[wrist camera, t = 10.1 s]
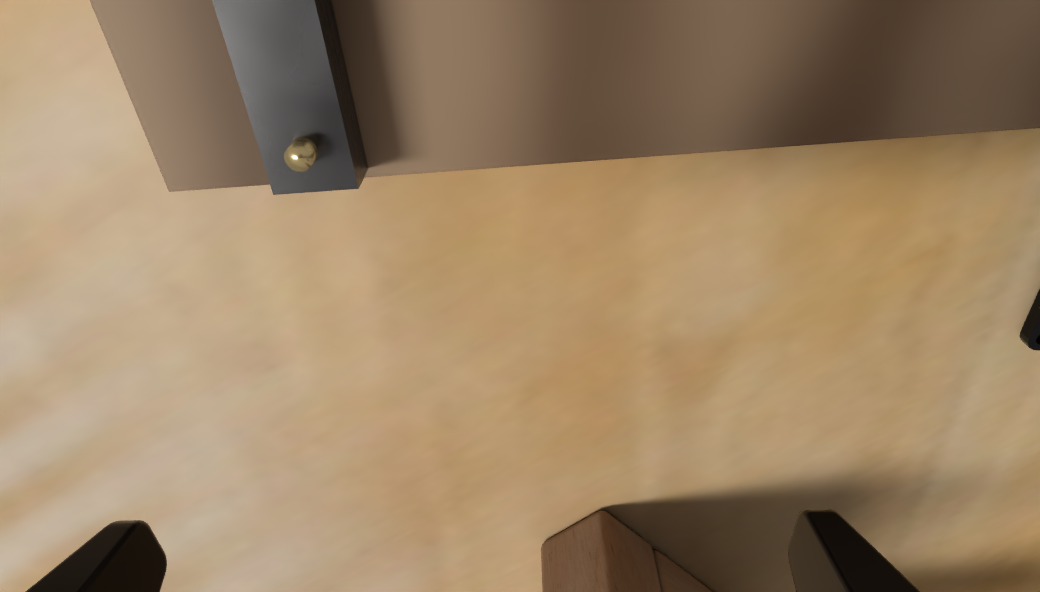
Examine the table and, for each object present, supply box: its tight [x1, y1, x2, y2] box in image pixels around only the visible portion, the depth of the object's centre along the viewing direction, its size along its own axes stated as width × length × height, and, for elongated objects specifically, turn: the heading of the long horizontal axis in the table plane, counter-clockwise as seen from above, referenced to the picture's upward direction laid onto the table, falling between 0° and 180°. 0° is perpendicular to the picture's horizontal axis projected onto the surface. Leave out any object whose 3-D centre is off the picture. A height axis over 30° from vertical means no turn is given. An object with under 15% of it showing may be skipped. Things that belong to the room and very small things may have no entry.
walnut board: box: [90, 0, 1040, 192], centre depth 15 cm, size 22×6×2 cm, turn 94°
